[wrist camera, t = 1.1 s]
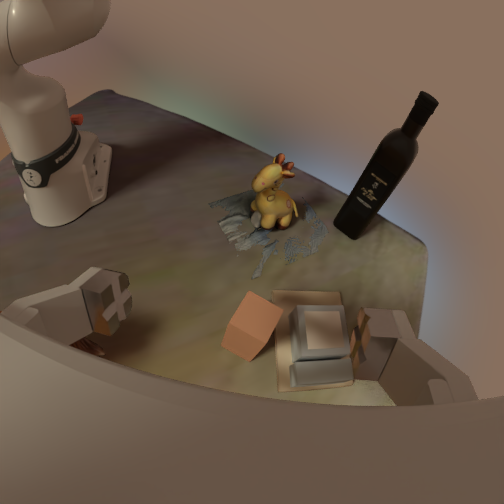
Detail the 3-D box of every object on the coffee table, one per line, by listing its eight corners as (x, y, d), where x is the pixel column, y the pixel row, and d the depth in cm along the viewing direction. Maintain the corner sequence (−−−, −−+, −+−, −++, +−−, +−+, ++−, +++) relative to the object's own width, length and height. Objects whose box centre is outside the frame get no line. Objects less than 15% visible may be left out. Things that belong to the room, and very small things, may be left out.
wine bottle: (354, 243, 53) (445, 113, 28) (330, 224, 54) (409, 87, 30) (365, 226, 56) (448, 105, 31) (343, 209, 57) (416, 82, 32)
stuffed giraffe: (207, 204, 52) (221, 132, 39) (288, 183, 59) (317, 122, 46) (249, 281, 46) (282, 220, 33) (333, 247, 54) (379, 190, 40)
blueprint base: (271, 292, 45) (280, 277, 41) (337, 294, 47) (351, 280, 42) (277, 392, 37) (289, 388, 33) (349, 385, 39) (367, 380, 34)
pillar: (220, 345, 39) (228, 322, 31) (236, 319, 42) (248, 290, 33) (249, 362, 39) (266, 343, 30) (264, 335, 41) (284, 310, 33)
